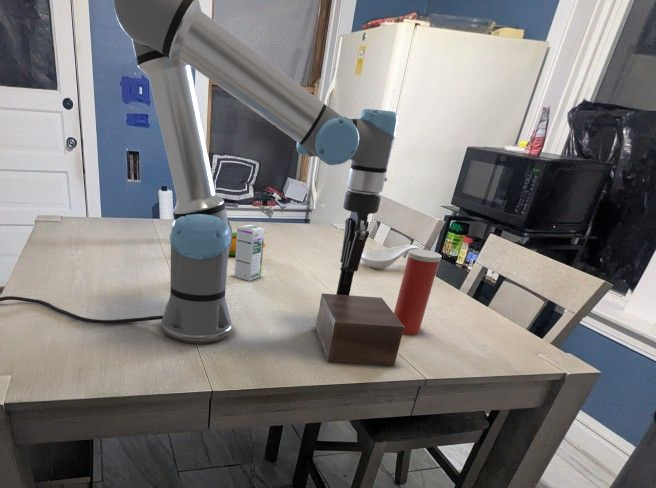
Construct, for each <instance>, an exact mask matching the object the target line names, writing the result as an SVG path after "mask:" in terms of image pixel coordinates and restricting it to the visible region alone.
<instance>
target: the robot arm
mask: <svg viewBox="0 0 656 488" xmlns="http://www.w3.org/2000/svg"><path fill="white" fill-rule="evenodd" d="M112 3H113V9H114V13H115V16H116V17H115V18H116V19H117V22H118V24H119V26H120V27H121V29H122V31H123V32H124V33H125V35H127V37H128V38H130V40H131V43H132V48H133V51H134V57H135V60H136V64H137V67H138V69H139V70H140V71H141V72H143V74H145V75H146V76H147V77H148V81H149V85H150V90H151V94H152V98H153V103H154V107H155V111H156V115H157V120H158V123H159V128H160V133H161V136H162V137H161V138H162V141H163V146H164V150H165V154H166V158H167V162H168V166H169V170H170V175H171V179H172V183H173V188H174V192H175V196H176V203H177V205H175V206H174V208H173V210H172V213H173V218H174V221H173V223H171V229H170V233H169V243H170V282H169V283H170V285H169V286H170V287H169V288H170V289H169V290H170V291H169V297H168V301H167V303H166V306H165V309H164V312H163V315H153V316H152V315H151V316H143V317H131V318H120V319H98V318H97V319H95V318H89V317H84V316H81V315H77V314H74V313H72V312H70V311H67V310H64V309H62V308H59V307H57V306H55V305H53V304H51V303H50V302H47V301H45V300H41V299H36V298H29V297H22V296H16V295H15V296H14V295H6V296H1V297H0V302H4V301H21V302H26V303H32V304H39V305H42V306H45V307H48V308H50V309H51V310H53V311H55V312H56V313H60V314H62V315H65V316H68V317H70V318H72V319H75V320H78V321H80V322H85V323H90V324H99V325H100V324H101V325H107V324H108V325H110V324H127V323H128V324H129V323H139V322H148V321H155V320H157V321H159V320H161V332H162V333H163V334H164V335H165V336H166V337H169V338H170V339H172V340H175V341H178V342H182V343H186V344H197V345H201V344H202V345H203V344H204V345H205V344H213V343H216V342H221V341H223V340H225V339H227V338H228V337H230V335H231V333H232V325H233V324H232V320H231V316H230V312H229V311H230V310H229V308H228V304H227V301H226V287H227V273H228V260H229V256H228V255H229V250H230V248H231V245H232V239H233V234H232V233H233V228H232V226H231V223H230V221H229V219H228V214H227V209H226V204H225V199H224V198H222V197H221V196H219V195H218V194H217V193H216V188H215V183H214V178H213V177H214V176H213V173H212V168H211V164H210V163H211V162H210V158H209V152H208V147H207V141H206V139H205V138H206V137H205V131H204V128H203V123H202V117H201V113H200V106H199V102H198V97H197V92H196V87H195V86H196V85H195V81H194V77H193V76H194V75H193V72H192V71H193V70H192V68H193V69H194V70H195V71H197V72H198V73H200V74H201V75H203V76H204V77H206V79H208V80H210V81H211V82H213V83H214V84H215V85H217V86H218V87H219V88H221V89H223V90H224V91H225V92H227V93H228V94H229V95H231V96H232V97H233V98H235V99H236V100H238V101H239V102H241V103H242V104H243V105H245V106H246V107H248V108H249V109H250V110H251V111H254V112H255V113H256V114H258V115H259V116H260V117H261V118H262V119H265V120H266V121H268V122H269V123H270V124H271V125H273V126H275V127H276V128H277V129H278V130H280V131H281V132H283V133H284V134H286V135H287V136H288V137H290V138H291V139H293V140H294V141H295V142H296V152H297V153H298V154H299V155H301V156H306V157H307V156H308V157H309V158H311V157H315V158H318V159H319V160H320V161H322V162H323V163H325V164H326V165H329V166H337V165H338V166H339V165H341V164H345V163H347V162H348V161H349V160H350V161H351V164H350V168H349V174H348V178H347V182H346V183H347V184H346V188H347V189H348V190H347V191H346V192H345V195H344V201H343V206H342V207H343V209H344V210H345V211H348V212H350V214H349V217H348V218H346V219H345V221H344V223H345V225H344V234H343V242H342V248H341V256H340V263H341V266H340V274H339V279H338V283H337V289H336V293H335V294H337V295H351V294H350V293H351V288H352V284H353V279H354V276H355V275H354V274H355V272H358V270H359V267H360V263H361V261H362V260H361V256H362V253H363V252H364V249H365V246H366V242H367V239H368V238H369V235H370V231H369V230H368V228H369V224H370V223H369V221H368V219H369V215H370V214H371V215H374V214H377V213H378V212H379V208H380V204H381V199H382V196H381V193H382V192H383V189H384V185H385V183H387V182H388V177H387V171H388V166H389V163H390V159H391V154H392V151H393V146H394V142H395V140H396V133H397V127H398V121H399V116H398V114H397V113H396V112H395V111H393V110H392V111H391V110H382V109H372V108H363V110H361V112H360V115H359V117H358V118H348V117H346V116H342V115H341V114H339V113H338V112H337V111H335V110H334V109H333V108H331V107H330V106H329V105H326V103H324V102H323V101H322V100H321V99H320V98H318V97H316V96H315V95H314V94H313V93H312V92H310V91H309V90H308V89H306V88H305V87H303V86H302V85H300V84H299V83H298V82H297V81H295V80H294V79H293V78H291V77H290V76H289V75H287V74H286V73H285V72H284V71H282V70H281V69H280V68H278V67H277V66H275V65H274V64H272V62H270V61H269V60H267V59H266V58H265V57H264V56H262V55H260V54H259V53H258V52H256V51H255V50H254V49H252V48H251V47H250V46H249V45H247V44H246V43H245V42H243V41H242V40H241V39H239V38H238V37H237V36H235V35H234V34H233V33H231V32H230V31H229V30H228V29H226V28H224V27H223V26H222V25H221V24H220V23H218V22H216V21H215V20H214V19H212V18H211V17H210V16H209V15H207V14H206V13H205V12H203V11H202V8H201V4H200V0H112ZM177 201H178V202H177Z"/></svg>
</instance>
